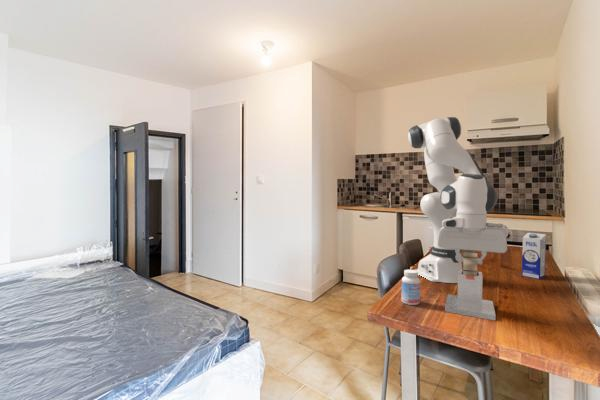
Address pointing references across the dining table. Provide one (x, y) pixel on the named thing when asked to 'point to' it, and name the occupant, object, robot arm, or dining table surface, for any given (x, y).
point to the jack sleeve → (470, 298)
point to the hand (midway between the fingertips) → (470, 263)
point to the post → (470, 262)
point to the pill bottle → (410, 288)
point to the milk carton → (534, 255)
